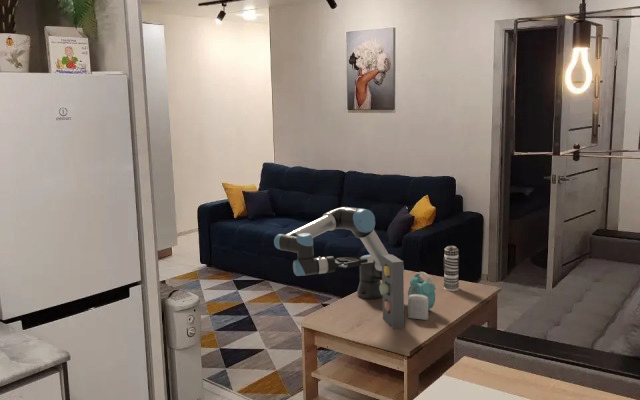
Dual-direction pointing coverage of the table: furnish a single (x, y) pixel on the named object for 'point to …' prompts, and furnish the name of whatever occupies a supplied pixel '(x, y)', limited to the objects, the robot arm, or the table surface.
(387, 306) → the terracotta button
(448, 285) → the leaning tower model
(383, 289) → the sage button
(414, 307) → the photo printer
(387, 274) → the mustard button
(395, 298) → the button panel
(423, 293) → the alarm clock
